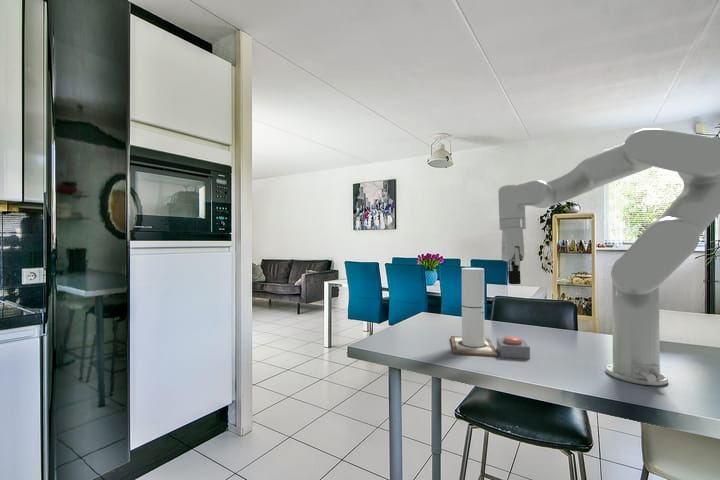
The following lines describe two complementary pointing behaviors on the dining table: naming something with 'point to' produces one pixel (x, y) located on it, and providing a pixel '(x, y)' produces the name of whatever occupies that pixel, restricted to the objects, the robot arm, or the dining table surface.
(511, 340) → the button
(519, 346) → the button housing
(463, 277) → the cylindrical container
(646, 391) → the dining table surface
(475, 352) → the sketch board
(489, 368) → the dining table surface
